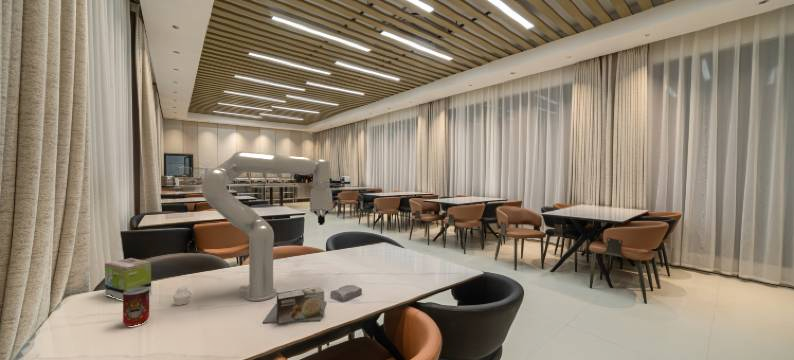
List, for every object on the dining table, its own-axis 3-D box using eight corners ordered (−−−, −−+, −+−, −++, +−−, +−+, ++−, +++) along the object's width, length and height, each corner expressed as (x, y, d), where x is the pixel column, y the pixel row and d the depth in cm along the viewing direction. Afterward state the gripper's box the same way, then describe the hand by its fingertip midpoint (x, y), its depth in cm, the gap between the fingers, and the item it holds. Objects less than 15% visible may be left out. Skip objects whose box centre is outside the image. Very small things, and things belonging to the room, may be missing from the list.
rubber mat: (262, 323, 108) (262, 321, 108) (276, 304, 124) (276, 303, 124) (320, 321, 110) (320, 319, 110) (326, 302, 126) (326, 301, 126)
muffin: (171, 304, 124) (171, 286, 124) (189, 299, 128) (188, 283, 128) (174, 308, 120) (174, 290, 120) (193, 303, 124) (192, 286, 124)
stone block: (328, 302, 131) (344, 303, 125) (326, 290, 132) (343, 291, 126) (348, 294, 141) (364, 295, 135) (346, 284, 141) (362, 284, 135)
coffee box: (320, 285, 119) (276, 291, 112) (324, 291, 113) (278, 298, 106) (320, 309, 119) (276, 317, 112) (324, 315, 113) (278, 324, 106)
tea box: (104, 297, 131) (103, 262, 130) (131, 289, 140) (131, 257, 140) (124, 303, 125) (124, 266, 125) (152, 294, 134) (152, 260, 134)
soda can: (123, 330, 103) (123, 294, 103) (122, 323, 108) (122, 288, 108) (150, 323, 107) (150, 289, 107) (148, 317, 113) (148, 283, 113)
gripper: (303, 186, 140) (303, 226, 140) (336, 186, 142) (336, 225, 142) (306, 185, 148) (306, 223, 148) (338, 185, 149) (338, 223, 149)
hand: (321, 224), depth 145 cm, fingers closed
